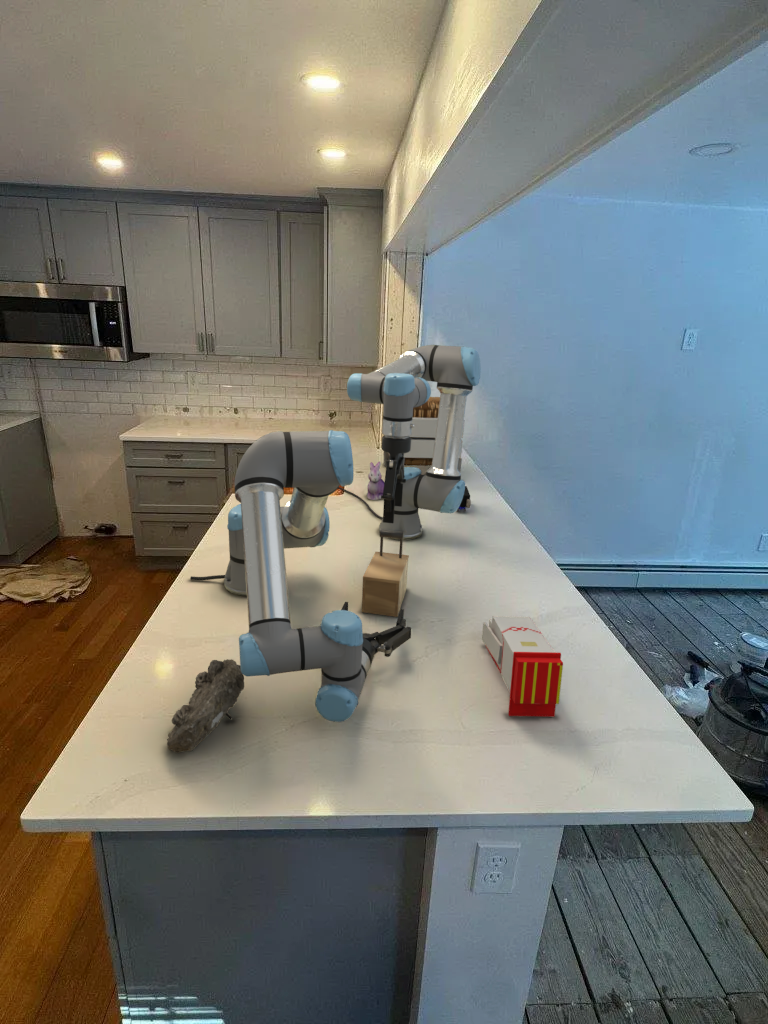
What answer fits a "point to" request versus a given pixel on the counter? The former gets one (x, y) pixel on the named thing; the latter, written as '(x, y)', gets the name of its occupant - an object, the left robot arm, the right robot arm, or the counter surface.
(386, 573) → the lid
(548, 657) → the toy
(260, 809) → the counter surface
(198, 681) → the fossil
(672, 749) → the counter surface
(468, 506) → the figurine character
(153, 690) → the counter surface
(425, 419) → the grey boxy piece
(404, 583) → the chest
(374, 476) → the figurine
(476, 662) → the counter surface
